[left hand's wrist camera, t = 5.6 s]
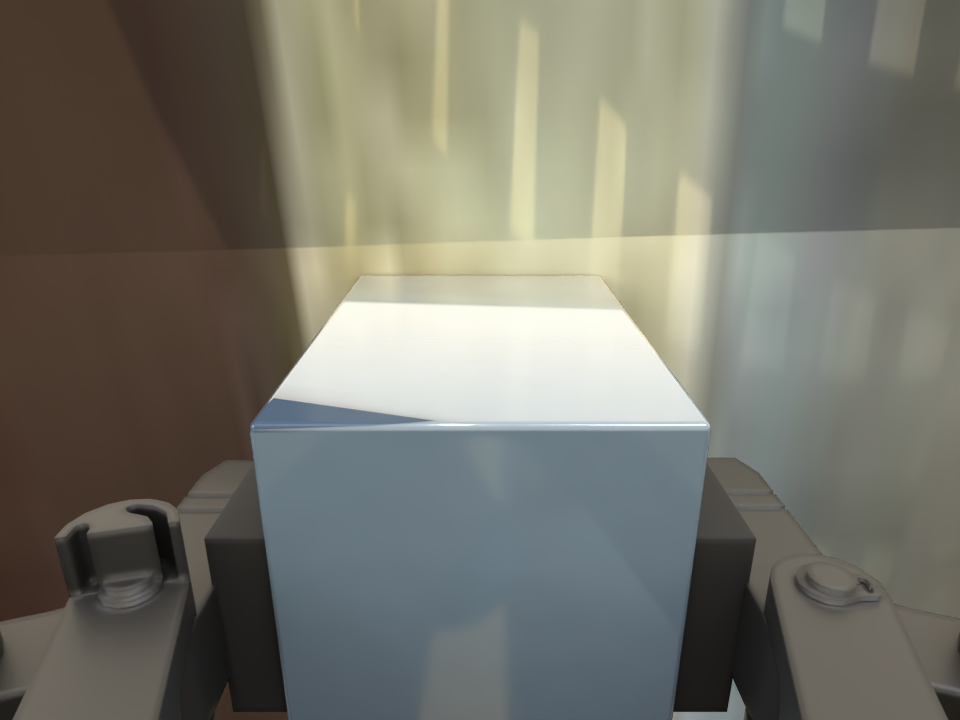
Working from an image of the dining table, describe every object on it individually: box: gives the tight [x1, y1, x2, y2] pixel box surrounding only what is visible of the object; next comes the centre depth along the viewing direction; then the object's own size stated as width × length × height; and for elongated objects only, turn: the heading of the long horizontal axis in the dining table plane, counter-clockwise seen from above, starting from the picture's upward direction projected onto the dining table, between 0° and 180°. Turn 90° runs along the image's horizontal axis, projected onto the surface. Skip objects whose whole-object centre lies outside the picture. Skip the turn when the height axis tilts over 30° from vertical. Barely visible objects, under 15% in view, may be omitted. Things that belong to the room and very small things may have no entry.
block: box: [250, 275, 711, 720], centre depth 11 cm, size 5×6×7 cm
